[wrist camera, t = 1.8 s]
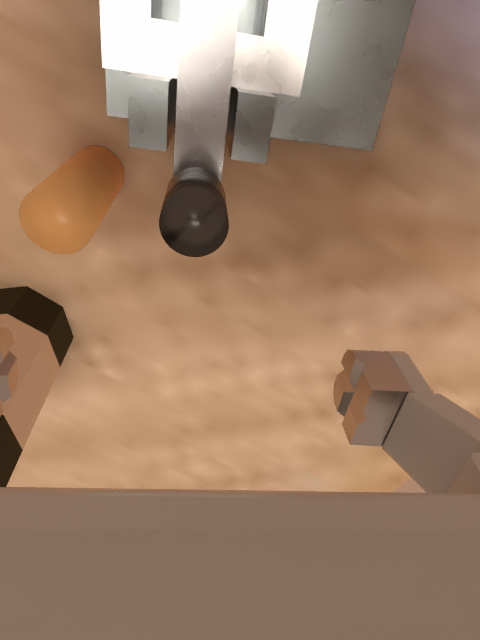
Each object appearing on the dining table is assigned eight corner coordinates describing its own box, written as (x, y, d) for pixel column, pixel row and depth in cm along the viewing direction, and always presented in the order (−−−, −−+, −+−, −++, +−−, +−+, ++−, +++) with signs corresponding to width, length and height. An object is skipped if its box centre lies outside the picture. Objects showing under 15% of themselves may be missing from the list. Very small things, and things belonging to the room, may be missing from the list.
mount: (435, -101, 23) (557, -177, 15) (366, 147, 30) (424, 183, 22) (100, -175, 21) (36, -312, 13) (110, 112, 28) (72, 139, 20)
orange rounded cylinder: (123, 149, 29) (90, 190, 21) (124, 200, 31) (94, 256, 23) (69, 142, 28) (14, 182, 20) (74, 194, 30) (25, 250, 22)
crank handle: (257, -123, 17) (281, -201, 11) (220, 213, 24) (224, 259, 19) (182, -139, 16) (171, -227, 11) (168, 207, 24) (158, 253, 19)
